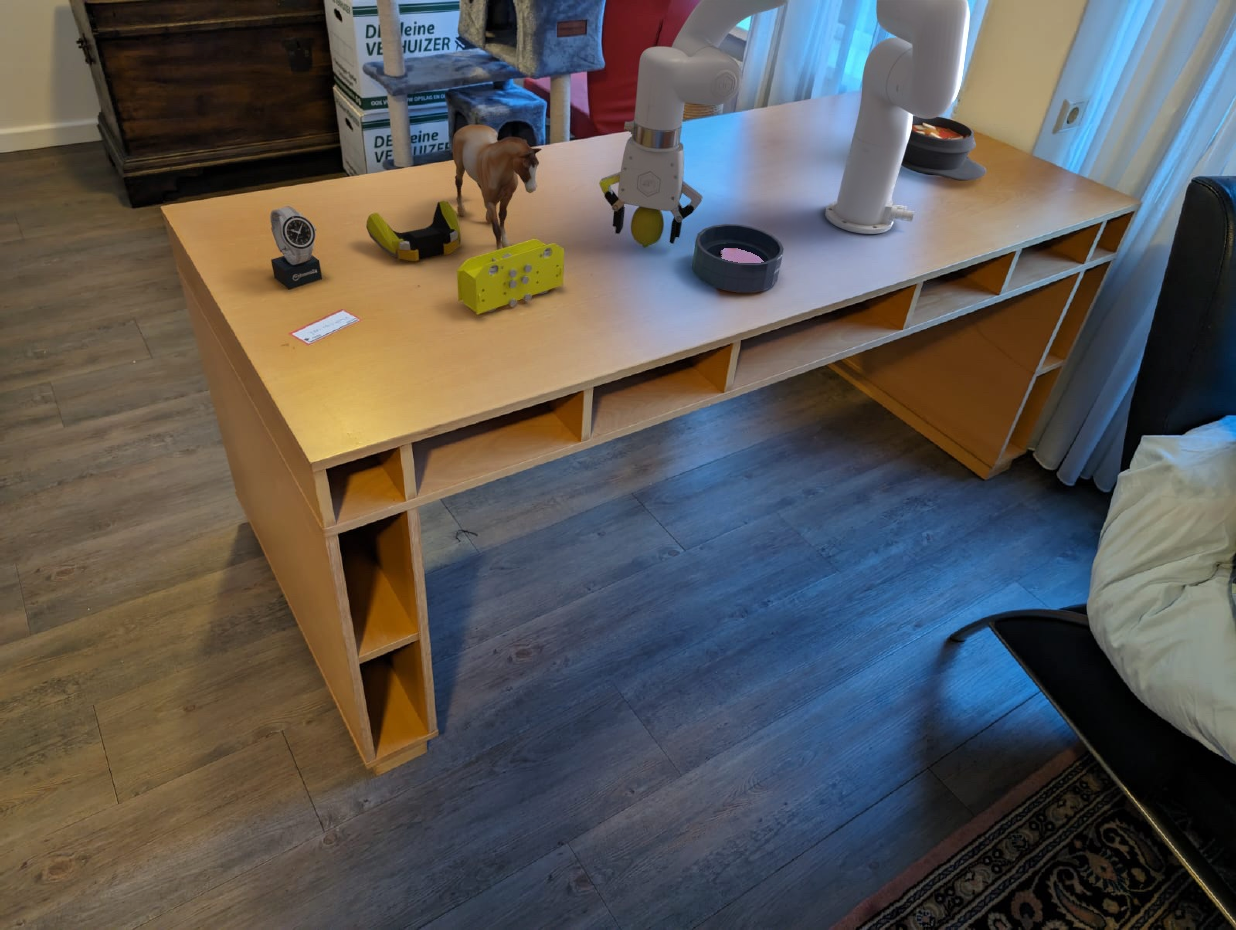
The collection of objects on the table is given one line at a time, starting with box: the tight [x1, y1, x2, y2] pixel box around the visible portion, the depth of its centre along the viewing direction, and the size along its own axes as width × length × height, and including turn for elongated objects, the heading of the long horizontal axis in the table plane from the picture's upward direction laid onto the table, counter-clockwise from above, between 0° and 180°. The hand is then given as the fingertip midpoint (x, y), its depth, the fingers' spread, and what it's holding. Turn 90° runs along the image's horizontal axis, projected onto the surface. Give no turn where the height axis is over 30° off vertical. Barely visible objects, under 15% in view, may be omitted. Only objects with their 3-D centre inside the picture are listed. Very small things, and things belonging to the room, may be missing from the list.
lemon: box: [630, 206, 665, 248], centre depth 148 cm, size 6×6×8 cm
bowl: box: [691, 223, 785, 294], centre depth 144 cm, size 14×14×6 cm
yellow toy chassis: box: [456, 238, 565, 315], centre depth 131 cm, size 16×6×8 cm, turn 131°
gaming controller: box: [365, 200, 462, 262], centre depth 142 cm, size 15×6×10 cm
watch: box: [269, 205, 323, 290], centre depth 130 cm, size 6×8×11 cm
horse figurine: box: [452, 124, 542, 250], centre depth 142 cm, size 31×8×21 cm, turn 23°
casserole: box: [901, 115, 987, 182], centre depth 187 cm, size 25×19×8 cm
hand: (645, 235), depth 149 cm, fingers open, 9 cm apart
